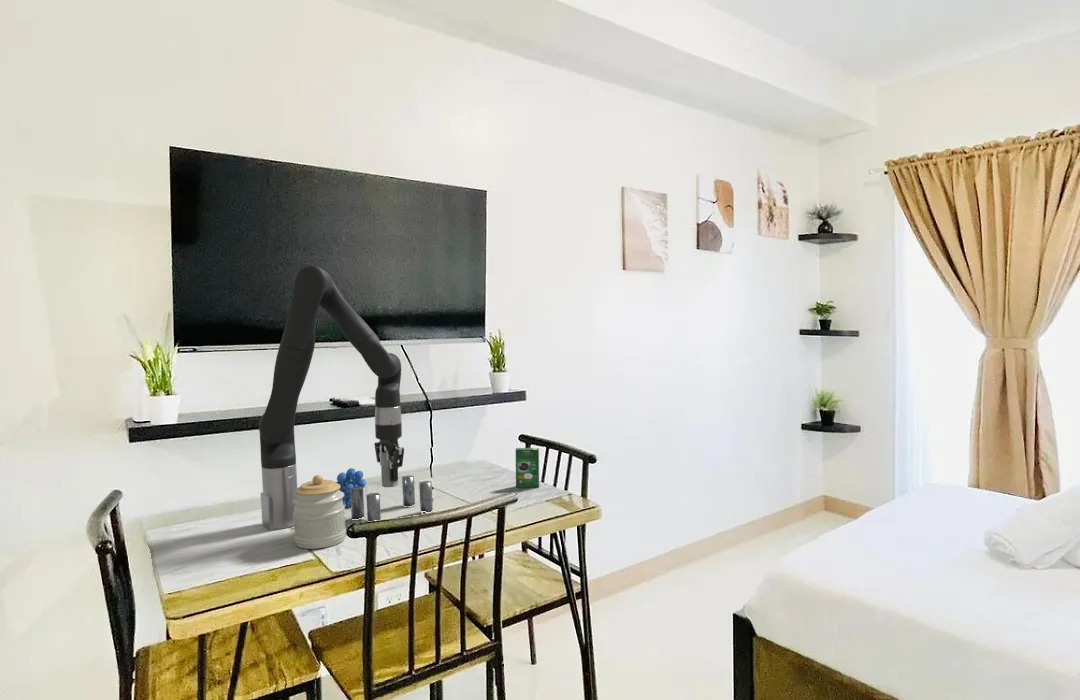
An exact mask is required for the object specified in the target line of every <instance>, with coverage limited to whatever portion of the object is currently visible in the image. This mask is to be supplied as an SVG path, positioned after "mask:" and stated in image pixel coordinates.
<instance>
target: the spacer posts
mask: <svg viewBox="0 0 1080 700" xmlns="http://www.w3.org/2000/svg"><path fill="white" fill-rule="evenodd" d="M401 482H402V483H401V484H402V506H403V505H404V506H412V505H414V504H415V505H416V497H415V496H416V494H415V493H416V492H415V476H414V475H411V474H410V475H404V476H402V477H401ZM418 484H419V485H418V486H419V487H418V488H419V502H420V503H419V506H420V507H419V508H420V509H419V510H421V511H426V512H431V511H432V510H433V509H434V508H433V490H432V489H433V487H432V481H429V480H423V481H420V482H419V483H418ZM350 495H351V507H350V508H351V509H350V510H351V520H352V519H359V518H362V517H364V518H365V502H364V501H365V499H364V488H363V487H353V488H351V489H350ZM365 496H366V513H367V516H366V517H367V522H368V521H374V520H380V519H381V520H382V517H381V515H382V514H381V495H380V493H378V492H371V493H368V494H366V495H365ZM423 513H425V512H423Z"/></svg>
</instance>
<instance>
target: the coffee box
mask: <svg viewBox="0 0 1080 700" xmlns="http://www.w3.org/2000/svg"><path fill="white" fill-rule="evenodd" d="M539 449H540V448H539V447H516V448H515V488H520V489H521V488H522V489H523V488H533V489H534V488H540V450H539Z"/></svg>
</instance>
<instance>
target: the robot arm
mask: <svg viewBox="0 0 1080 700" xmlns="http://www.w3.org/2000/svg"><path fill="white" fill-rule="evenodd" d="M319 307H321V308H322V309H323V310H325V312H326V313H328V315H329V316H330V317H331V319H333V322H335V324H336V325H337V327H338V328H339V330H340V331H341V333H342V334H343V336H344V337H345V338H346V339H347V340H348V342H350V344H351V345H352V346H353V347H354V349H356V350H357V352H358V353H359V354H360V356H361V357H362V358H363V360H364V362H365V363H366V366H367V367H368V368H369V369H370V370H371V371H372V373H373V374H374V375H376V377H377V387H376V389H375V394H374V395H375V396H374V398H375V399H374V400H375V411H374V429H375V431H374V432H375V434H374V435H375V436H374V437H375V438H376V439H377V440H379V441H378V442H377V441H376V442H374V450H375V456H376V457H375V458H376V462H377V463H379V465H380V468H381V475H382V465H381V451H383V452H386V457H387V461H388V462H389V465H390V481H392V482H394V481H397V480H398V481H399V469H400V468H401V467H403V465H404V464H403V463H404V456H405V447H403V446H402V447H400V444H399V439H400V438H402V434H403V431H402V430H403V429H402V428H403V427H402V426H403V425H402V410H401V393H400V387H401V378H402V363H401V360H400V357H398V355H396V354H395V353H392V352H388V351H387V350H386V349H385V348H384V346H383V345H382V343H381V339H380V338H379V336H378V335H377V334H376V333H375V332H374V330H373V329H372V328H371V327H370V326H369V325H368V323H366V322H365V320H364V319H363V318H362V317H361V316H360V314H358V313H357V311H355V310H354V309H353V308H352V306H351V305H350V304H349V303H348V302H347V301H346V299H345V298H344V296H343V295H342V293H341V292H340V290H339V289H338V288H337V286H336V284H335V282H334V281H333V279H332V277H331V274H330V273H328V272H327V271H326V270H324V269H323V268H321V267H320V266H318V265H315V264H308V265H305V266H303V267H302V268H301V269H299V270H298V271H297V273H296V276H295V277H294V283H293V290H292V297H291V303H290V309H289V314H288V317H287V319H286V323H285V326H284V330H283V333H282V336H281V340H280V343H279V346H278V351H277V354H276V358H275V364H274V369H273V370H274V371H273V379H272V387H271V388H272V389H271V392H270V393H271V394H270V395H269V400H268V403H267V405H266V408H265V411H264V413H263V414H262V416H261V417H260V419H259V422H258V431H259V442H260V443H259V444H260V447H259V448H260V464H261V465H260V466H261V479H262V480H261V481H262V483H261V484H262V492H260V507H261V509H260V510H261V523H262V526H263V528H264V527H265V528H266V529H268V530H269V531H271V530H280V529H286V528H289V527H293V526H294V515H293V512H294V510H295V504H294V503H293V502H292V500H293V498H294V497H296V496H297V494H296V492H295V490H296V489H297V488H298V476H297V475H298V474H297V473H298V472H297V471H298V470H297V458H296V457H297V451H296V445H295V444H296V442H295V441H296V440H295V422H296V414H297V408H298V402H299V397H300V394H301V392H302V389H303V386H304V385H305V384H304V383H305V381H306V378H307V376H308V372H309V369H310V366H311V362H312V358H313V354H314V350H315V346H316V319H317V314H318V310H319ZM390 456H394V458H391V457H390ZM392 461H393V462H392ZM294 527H295V526H294Z"/></svg>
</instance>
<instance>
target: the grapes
mask: <svg viewBox="0 0 1080 700" xmlns="http://www.w3.org/2000/svg"><path fill="white" fill-rule="evenodd" d="M363 477H364V472H363V471H362V470H356V469H355V468H353V467H351V468H350V467H349V468H348V469H347V471H346V472H339V473H338V474H337V476H336V480H337V481H334V482H335V483H338V484H340V486H341V487H340V489H339V490H340V491H342V492H343V493H344V497H343V498H342V501H343V504H344V506H345V507H347V506H351V495H350V489H351V488H353V487H363V489H364V488H365V487H366V485H367V481H366V479H364V478H363Z"/></svg>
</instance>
